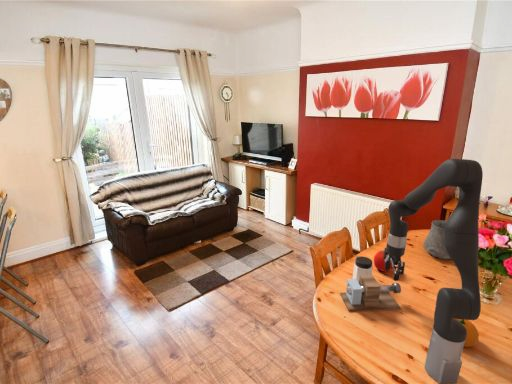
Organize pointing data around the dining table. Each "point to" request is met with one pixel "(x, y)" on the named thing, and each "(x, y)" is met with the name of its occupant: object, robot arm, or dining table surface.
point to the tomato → (380, 261)
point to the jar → (362, 267)
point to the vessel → (436, 240)
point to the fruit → (469, 333)
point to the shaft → (383, 288)
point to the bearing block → (371, 297)
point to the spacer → (354, 291)
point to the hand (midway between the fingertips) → (391, 274)
